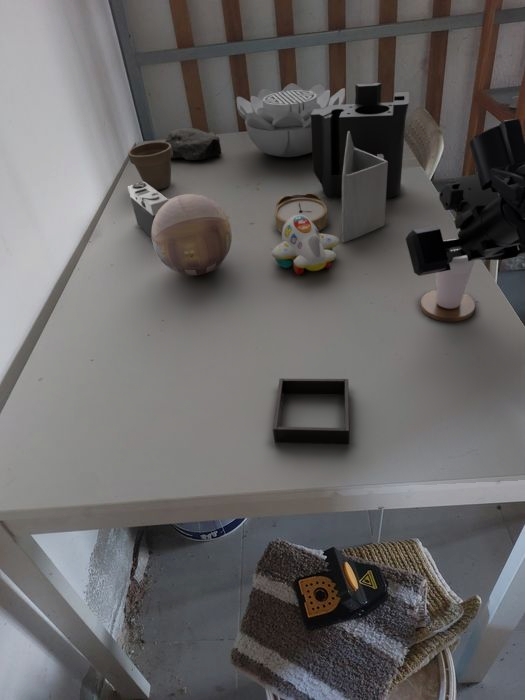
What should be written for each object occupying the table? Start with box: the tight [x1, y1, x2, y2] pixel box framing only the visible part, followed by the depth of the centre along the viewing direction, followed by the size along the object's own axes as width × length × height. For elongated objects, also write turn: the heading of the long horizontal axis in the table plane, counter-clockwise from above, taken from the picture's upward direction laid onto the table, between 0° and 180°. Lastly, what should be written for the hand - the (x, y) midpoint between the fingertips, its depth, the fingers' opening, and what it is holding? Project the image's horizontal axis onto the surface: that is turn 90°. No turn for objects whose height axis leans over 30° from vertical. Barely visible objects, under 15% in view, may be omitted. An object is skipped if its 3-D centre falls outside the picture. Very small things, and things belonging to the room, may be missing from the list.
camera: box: [127, 181, 171, 239], centre depth 115 cm, size 14×8×10 cm, turn 32°
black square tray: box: [272, 378, 350, 445], centre depth 68 cm, size 9×9×2 cm
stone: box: [165, 127, 222, 161], centre depth 153 cm, size 18×9×10 cm
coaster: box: [420, 289, 476, 323], centre depth 85 cm, size 8×8×1 cm
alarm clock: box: [274, 192, 328, 233], centre depth 114 cm, size 11×5×15 cm
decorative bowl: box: [236, 82, 346, 158], centre depth 146 cm, size 30×30×15 cm
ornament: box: [151, 193, 233, 276], centre depth 98 cm, size 15×15×15 cm
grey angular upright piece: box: [341, 131, 388, 243], centre depth 104 cm, size 16×8×19 cm, turn 166°
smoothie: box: [435, 238, 476, 308], centre depth 80 cm, size 6×6×14 cm
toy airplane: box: [271, 215, 340, 275], centre depth 98 cm, size 13×9×15 cm
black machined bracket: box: [311, 82, 410, 199], centre depth 118 cm, size 12×21×22 cm, turn 77°
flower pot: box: [127, 141, 173, 191], centre depth 137 cm, size 12×11×10 cm
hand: (450, 259), depth 81 cm, fingers closed on smoothie, 6 cm apart
